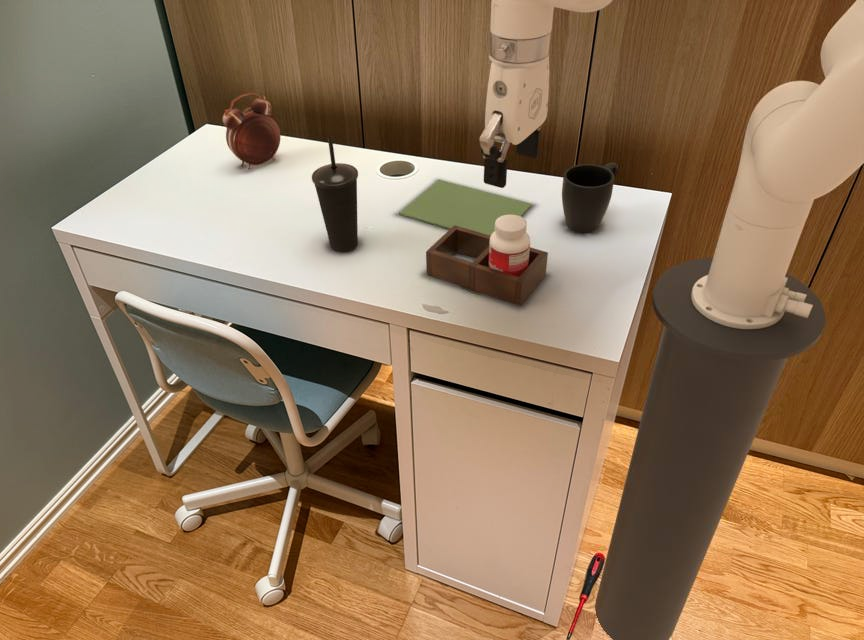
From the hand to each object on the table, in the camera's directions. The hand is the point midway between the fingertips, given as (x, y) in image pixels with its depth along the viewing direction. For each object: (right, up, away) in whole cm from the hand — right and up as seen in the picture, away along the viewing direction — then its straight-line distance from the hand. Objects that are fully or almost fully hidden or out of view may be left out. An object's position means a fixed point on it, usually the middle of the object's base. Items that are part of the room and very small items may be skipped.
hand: (511, 169), depth 101 cm
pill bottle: (+2, -15, +13) cm, 20 cm away
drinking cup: (-25, -7, +25) cm, 36 cm away
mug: (+18, -3, +25) cm, 31 cm away
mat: (-3, +1, +30) cm, 30 cm away
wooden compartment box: (-1, -13, +15) cm, 20 cm away
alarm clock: (-45, +14, +50) cm, 69 cm away
